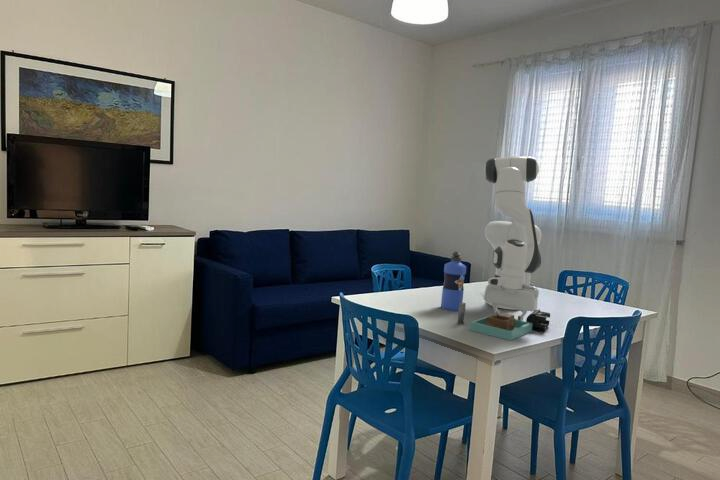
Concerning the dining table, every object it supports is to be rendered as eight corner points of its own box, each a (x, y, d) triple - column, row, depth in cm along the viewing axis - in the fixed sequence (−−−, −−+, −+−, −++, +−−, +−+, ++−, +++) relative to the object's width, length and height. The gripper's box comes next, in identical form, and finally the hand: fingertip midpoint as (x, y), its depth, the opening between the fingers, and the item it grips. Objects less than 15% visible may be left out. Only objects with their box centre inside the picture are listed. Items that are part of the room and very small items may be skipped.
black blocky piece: (530, 324, 211) (532, 308, 210) (548, 328, 207) (550, 311, 207) (525, 329, 202) (527, 312, 201) (544, 333, 199) (546, 315, 198)
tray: (492, 321, 210) (493, 314, 210) (531, 330, 200) (532, 323, 200) (469, 330, 194) (470, 321, 194) (511, 340, 184) (511, 332, 184)
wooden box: (499, 323, 206) (500, 312, 205) (519, 328, 201) (520, 316, 200) (485, 328, 195) (486, 317, 195) (505, 333, 190) (506, 321, 190)
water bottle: (436, 307, 228) (441, 250, 225) (448, 304, 235) (453, 249, 232) (454, 312, 222) (460, 253, 219) (466, 309, 228) (471, 252, 226)
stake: (459, 322, 205) (461, 302, 204) (464, 323, 203) (466, 303, 203) (456, 323, 203) (458, 303, 202) (461, 324, 202) (463, 304, 201)
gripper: (542, 286, 195) (538, 322, 197) (490, 277, 208) (487, 311, 209) (536, 288, 190) (532, 325, 192) (484, 278, 203) (480, 313, 204)
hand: (508, 317), depth 201 cm, fingers open, 8 cm apart
